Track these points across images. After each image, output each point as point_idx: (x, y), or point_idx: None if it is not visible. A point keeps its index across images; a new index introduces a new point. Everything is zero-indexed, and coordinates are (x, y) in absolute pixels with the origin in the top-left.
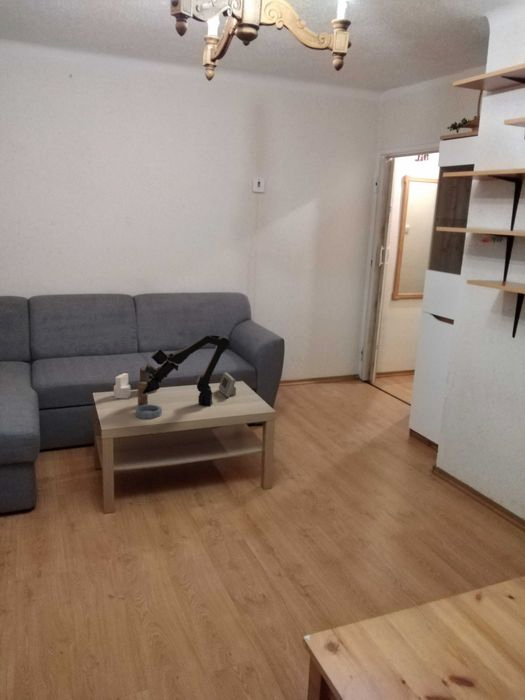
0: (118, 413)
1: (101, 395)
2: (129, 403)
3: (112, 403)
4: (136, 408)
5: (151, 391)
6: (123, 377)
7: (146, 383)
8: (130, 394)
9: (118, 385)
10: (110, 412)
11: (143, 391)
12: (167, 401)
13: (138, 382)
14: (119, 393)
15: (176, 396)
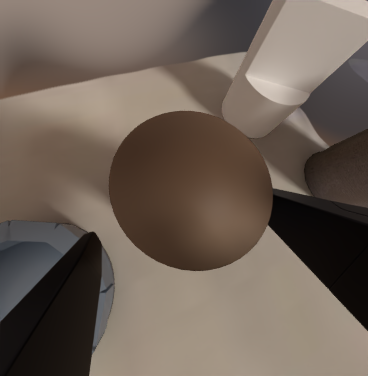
0: (48, 145)
1: (232, 60)
2: None
3: (169, 100)
4: (14, 227)
5: (325, 198)
6: (320, 16)
7: (193, 263)
8: (260, 133)
9: (251, 50)
10: (62, 114)
11: (70, 249)
12: (258, 321)
13: (209, 117)
14: (231, 93)
15: (339, 337)
